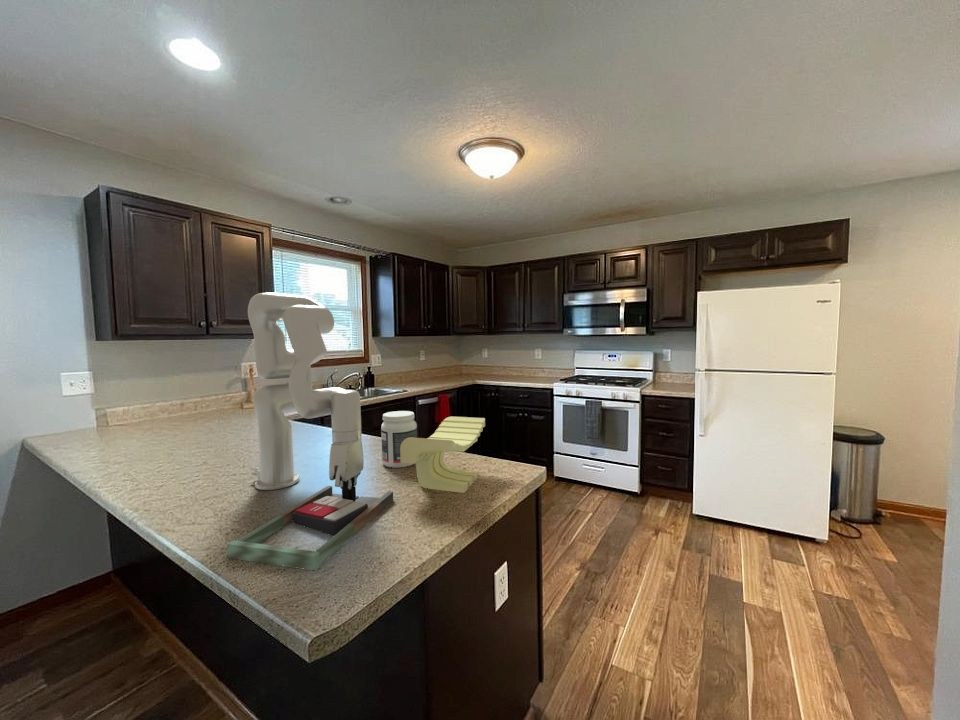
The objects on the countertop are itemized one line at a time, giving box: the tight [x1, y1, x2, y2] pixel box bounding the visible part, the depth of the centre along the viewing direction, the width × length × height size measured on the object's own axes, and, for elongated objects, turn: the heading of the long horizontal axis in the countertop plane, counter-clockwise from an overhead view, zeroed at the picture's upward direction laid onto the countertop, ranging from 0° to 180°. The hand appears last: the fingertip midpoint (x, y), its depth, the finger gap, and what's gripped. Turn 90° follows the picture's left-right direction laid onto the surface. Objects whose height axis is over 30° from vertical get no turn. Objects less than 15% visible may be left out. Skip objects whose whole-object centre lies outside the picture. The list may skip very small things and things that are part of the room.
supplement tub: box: [380, 410, 418, 469], centre depth 141 cm, size 13×13×18 cm
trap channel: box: [226, 485, 394, 571], centre depth 95 cm, size 21×34×3 cm, turn 166°
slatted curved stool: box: [400, 416, 486, 494], centre depth 122 cm, size 30×16×18 cm, turn 162°
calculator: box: [292, 496, 368, 537], centre depth 98 cm, size 11×4×15 cm
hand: (349, 501), depth 106 cm, fingers closed
